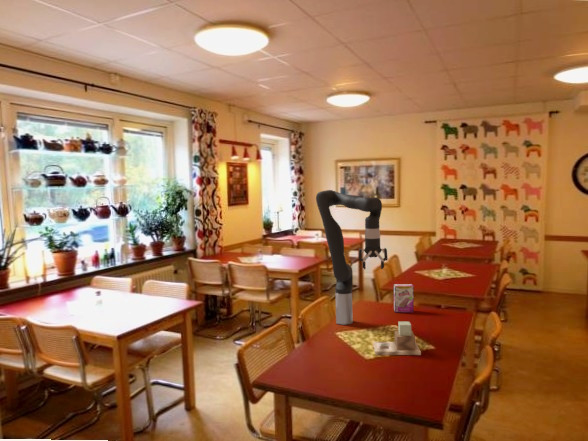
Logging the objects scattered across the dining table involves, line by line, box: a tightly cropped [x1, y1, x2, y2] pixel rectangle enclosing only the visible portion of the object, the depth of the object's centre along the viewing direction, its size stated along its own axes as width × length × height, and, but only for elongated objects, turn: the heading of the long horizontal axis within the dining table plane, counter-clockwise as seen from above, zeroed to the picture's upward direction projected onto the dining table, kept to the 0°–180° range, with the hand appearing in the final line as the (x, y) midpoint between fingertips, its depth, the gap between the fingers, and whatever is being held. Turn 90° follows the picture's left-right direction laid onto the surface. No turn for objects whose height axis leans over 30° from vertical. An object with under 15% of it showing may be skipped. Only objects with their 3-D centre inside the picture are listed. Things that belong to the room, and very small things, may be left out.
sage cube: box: [397, 321, 412, 336], centre depth 190 cm, size 5×5×5 cm
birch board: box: [372, 341, 422, 356], centre depth 191 cm, size 20×12×2 cm, turn 84°
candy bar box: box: [393, 283, 415, 314], centre depth 249 cm, size 11×5×16 cm, turn 84°
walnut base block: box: [394, 330, 416, 350], centre depth 191 cm, size 8×8×6 cm
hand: (373, 268), depth 210 cm, fingers open, 8 cm apart
